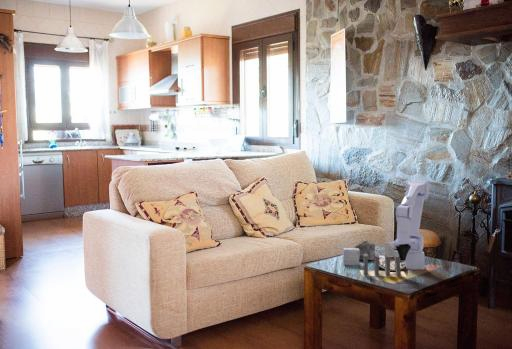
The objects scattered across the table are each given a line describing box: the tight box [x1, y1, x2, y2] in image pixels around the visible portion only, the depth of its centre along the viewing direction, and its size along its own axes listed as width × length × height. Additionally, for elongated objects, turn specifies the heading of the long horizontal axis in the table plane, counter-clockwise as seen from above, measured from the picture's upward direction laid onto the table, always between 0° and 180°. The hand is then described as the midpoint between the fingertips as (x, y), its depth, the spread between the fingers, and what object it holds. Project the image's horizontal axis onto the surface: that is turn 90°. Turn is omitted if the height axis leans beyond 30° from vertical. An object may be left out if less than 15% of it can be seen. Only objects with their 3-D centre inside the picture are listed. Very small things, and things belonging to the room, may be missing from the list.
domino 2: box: [384, 253, 391, 277], centre depth 244 cm, size 2×5×9 cm, turn 174°
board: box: [359, 269, 408, 278], centre depth 246 cm, size 20×9×1 cm, turn 84°
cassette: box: [384, 242, 399, 256], centre depth 279 cm, size 12×2×8 cm, turn 63°
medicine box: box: [342, 247, 360, 266], centre depth 263 cm, size 8×4×9 cm, turn 84°
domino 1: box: [373, 253, 380, 277], centre depth 245 cm, size 2×5×9 cm, turn 174°
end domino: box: [362, 254, 369, 275], centre depth 245 cm, size 2×5×9 cm, turn 174°
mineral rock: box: [353, 240, 376, 261], centre depth 276 cm, size 13×11×10 cm
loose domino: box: [393, 254, 401, 276], centre depth 244 cm, size 2×5×9 cm, turn 174°
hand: (402, 260), depth 243 cm, fingers closed
